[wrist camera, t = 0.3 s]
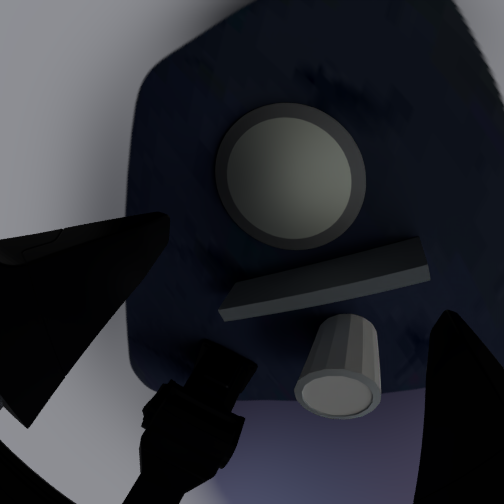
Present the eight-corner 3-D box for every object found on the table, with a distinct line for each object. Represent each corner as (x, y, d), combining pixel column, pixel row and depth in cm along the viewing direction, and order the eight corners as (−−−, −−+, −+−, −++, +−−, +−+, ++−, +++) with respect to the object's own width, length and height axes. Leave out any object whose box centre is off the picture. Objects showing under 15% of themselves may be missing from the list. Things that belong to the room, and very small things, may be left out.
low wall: (419, 236, 21) (427, 264, 18) (422, 250, 21) (430, 279, 18) (235, 282, 28) (217, 310, 25) (241, 293, 29) (224, 321, 25)
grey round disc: (325, 269, 25) (325, 273, 24) (202, 211, 26) (199, 213, 25) (392, 144, 19) (393, 146, 18) (242, 81, 20) (239, 81, 19)
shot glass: (354, 294, 25) (347, 357, 19) (397, 342, 26) (397, 404, 20) (295, 329, 29) (275, 387, 23) (340, 370, 30) (329, 427, 24)
